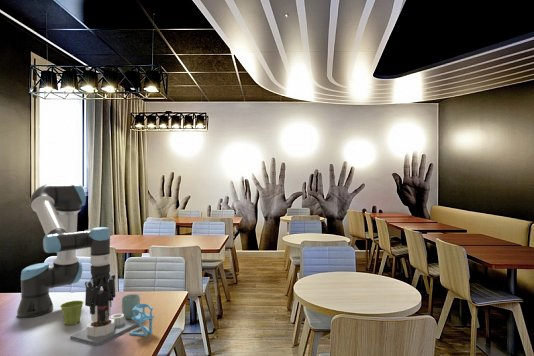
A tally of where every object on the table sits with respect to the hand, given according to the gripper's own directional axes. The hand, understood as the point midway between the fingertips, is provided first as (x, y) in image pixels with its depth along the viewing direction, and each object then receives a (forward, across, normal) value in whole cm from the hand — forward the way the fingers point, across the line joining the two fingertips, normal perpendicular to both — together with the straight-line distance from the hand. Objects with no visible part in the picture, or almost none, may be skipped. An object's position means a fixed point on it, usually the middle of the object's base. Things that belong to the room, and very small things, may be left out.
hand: (101, 318), depth 151 cm
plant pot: (+7, +4, +23) cm, 24 cm away
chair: (+7, +8, -16) cm, 19 cm away
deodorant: (+4, 0, 0) cm, 4 cm away
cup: (+7, +18, +2) cm, 20 cm away
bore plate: (+7, +3, 0) cm, 7 cm away
